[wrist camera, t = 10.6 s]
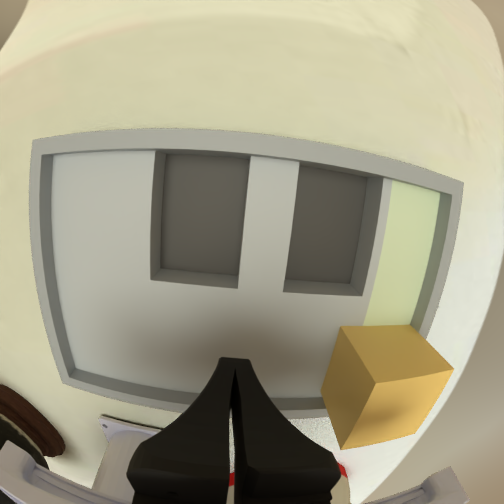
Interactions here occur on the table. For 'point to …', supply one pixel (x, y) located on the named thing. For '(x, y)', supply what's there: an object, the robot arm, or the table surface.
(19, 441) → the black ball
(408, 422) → the block
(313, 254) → the box
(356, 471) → the table surface
